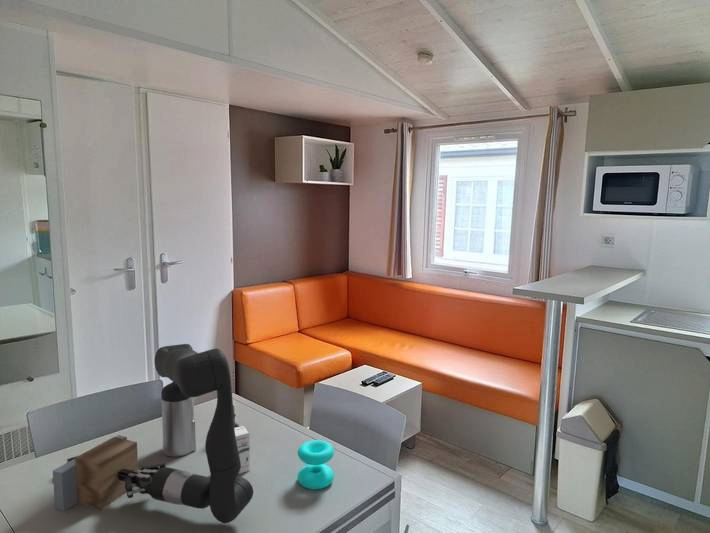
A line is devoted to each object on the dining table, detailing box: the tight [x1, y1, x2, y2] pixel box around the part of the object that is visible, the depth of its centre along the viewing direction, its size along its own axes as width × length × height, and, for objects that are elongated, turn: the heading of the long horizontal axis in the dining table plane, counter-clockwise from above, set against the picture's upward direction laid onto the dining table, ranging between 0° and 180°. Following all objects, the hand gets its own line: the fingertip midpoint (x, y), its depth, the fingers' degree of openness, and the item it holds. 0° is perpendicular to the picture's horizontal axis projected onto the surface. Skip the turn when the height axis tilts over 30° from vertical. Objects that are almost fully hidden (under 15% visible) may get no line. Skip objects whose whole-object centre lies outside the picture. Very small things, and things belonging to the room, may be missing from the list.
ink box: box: [234, 425, 251, 475], centre depth 134 cm, size 8×5×12 cm, turn 123°
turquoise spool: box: [297, 439, 335, 490], centre depth 130 cm, size 10×10×10 cm
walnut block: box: [75, 436, 139, 511], centre depth 123 cm, size 8×12×12 cm, turn 160°
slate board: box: [52, 434, 128, 512], centre depth 125 cm, size 3×20×10 cm, turn 160°
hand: (120, 474), depth 122 cm, fingers closed
